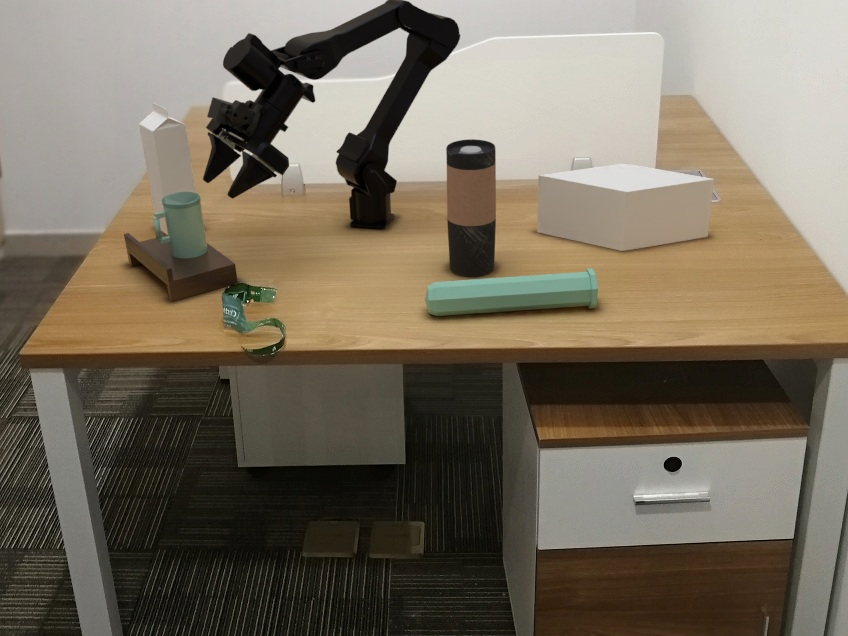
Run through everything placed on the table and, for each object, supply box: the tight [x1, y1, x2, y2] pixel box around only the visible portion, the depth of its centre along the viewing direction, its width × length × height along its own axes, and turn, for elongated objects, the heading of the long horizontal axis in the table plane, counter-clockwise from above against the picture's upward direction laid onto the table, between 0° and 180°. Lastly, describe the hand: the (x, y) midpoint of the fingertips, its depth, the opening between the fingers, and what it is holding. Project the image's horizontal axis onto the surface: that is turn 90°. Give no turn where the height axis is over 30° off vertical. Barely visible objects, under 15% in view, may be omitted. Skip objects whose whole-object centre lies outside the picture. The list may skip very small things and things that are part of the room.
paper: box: [536, 162, 715, 252], centre depth 172 cm, size 14×29×10 cm, turn 83°
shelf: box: [123, 232, 239, 303], centre depth 163 cm, size 11×18×5 cm, turn 36°
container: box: [424, 267, 599, 317], centre depth 149 cm, size 6×6×25 cm
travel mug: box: [445, 138, 497, 278], centre depth 159 cm, size 8×8×20 cm
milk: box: [138, 101, 197, 236], centre depth 176 cm, size 6×6×22 cm
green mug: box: [152, 192, 208, 259], centre depth 161 cm, size 8×6×9 cm
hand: (217, 189), depth 162 cm, fingers open, 9 cm apart
